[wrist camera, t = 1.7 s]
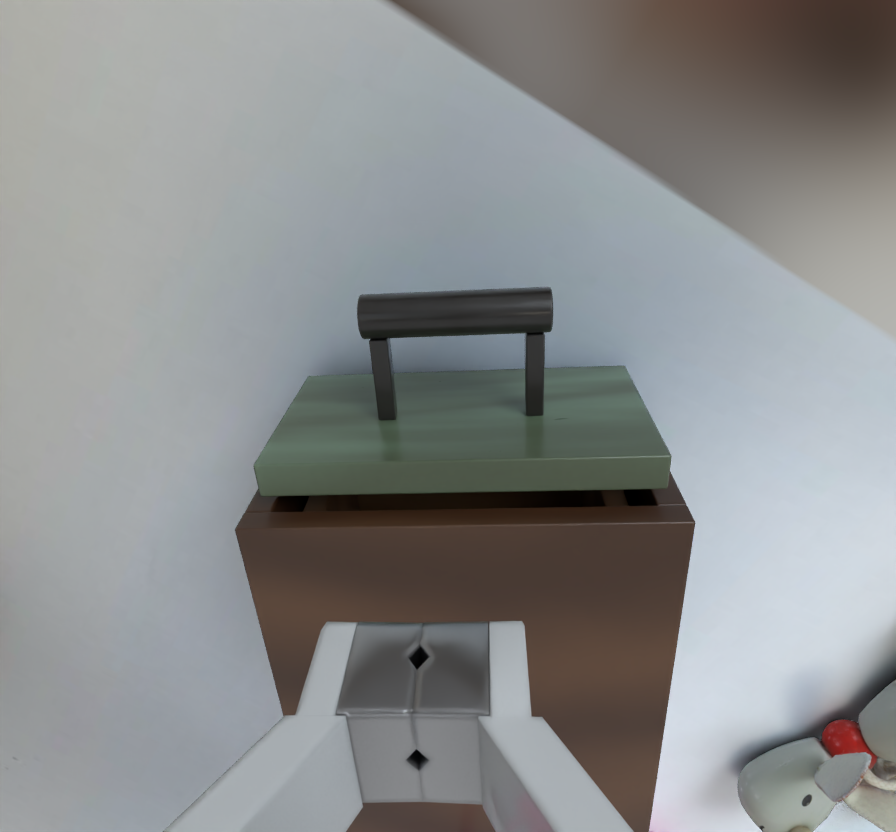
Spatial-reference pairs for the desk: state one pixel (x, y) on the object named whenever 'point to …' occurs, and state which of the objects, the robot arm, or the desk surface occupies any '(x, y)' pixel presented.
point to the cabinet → (496, 615)
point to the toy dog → (828, 773)
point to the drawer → (463, 421)
